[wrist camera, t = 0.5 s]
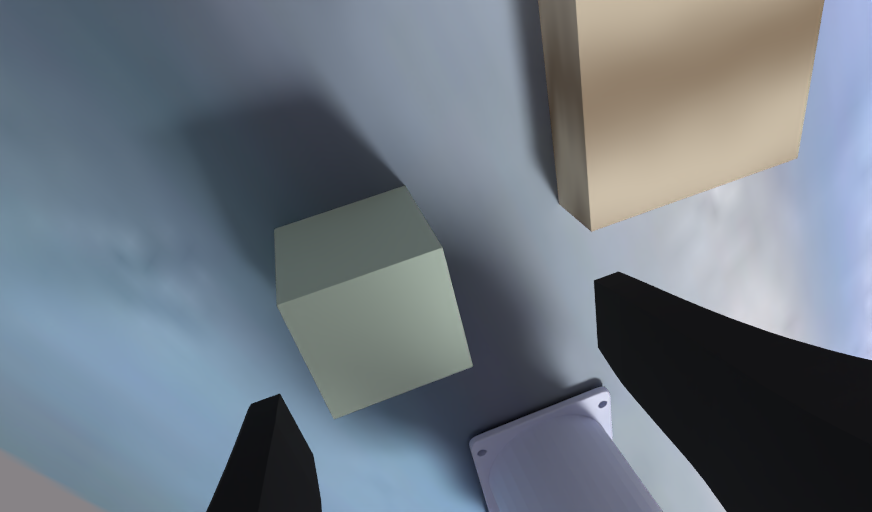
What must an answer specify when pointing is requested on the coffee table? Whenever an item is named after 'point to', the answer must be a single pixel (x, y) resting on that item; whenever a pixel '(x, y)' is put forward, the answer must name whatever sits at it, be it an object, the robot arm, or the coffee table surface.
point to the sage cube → (369, 301)
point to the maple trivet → (671, 96)
